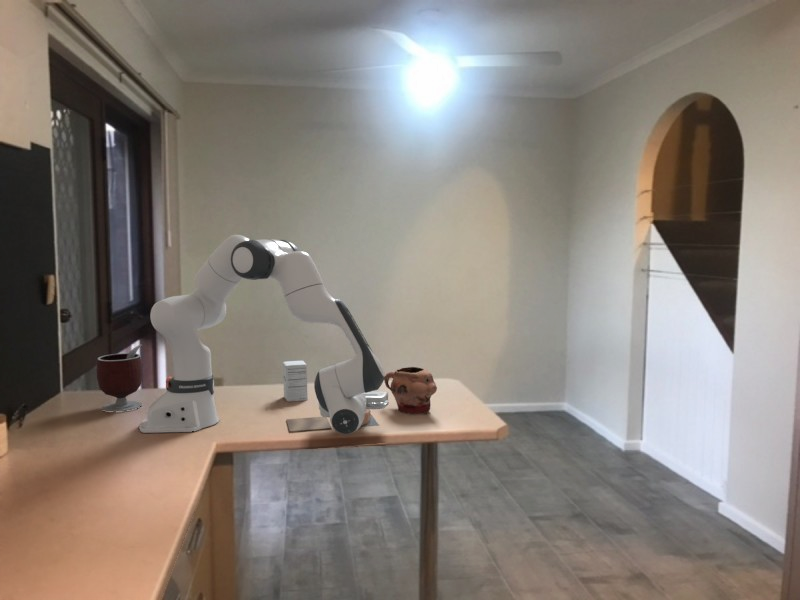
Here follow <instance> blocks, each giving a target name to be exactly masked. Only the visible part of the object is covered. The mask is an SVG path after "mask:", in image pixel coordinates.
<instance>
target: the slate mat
mask: <svg viewBox="0 0 800 600" xmlns="http://www.w3.org/2000/svg"><path fill="white" fill-rule="evenodd" d="M374 426H380V424H379V422H377V420H376V419H375V417H374V416H373V415H372V414H371V421H370V422H369V423H367V424H364V425H361V426H360V428H362V427H363V428H365V427H374Z"/></svg>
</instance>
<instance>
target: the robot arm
mask: <svg viewBox="0 0 800 600" xmlns="http://www.w3.org/2000/svg"><path fill="white" fill-rule="evenodd" d="M243 279H245V280H246V279H247V280H250V281H251V280H252V281H257V280H262V281H263V280H273V279H274V280H276V281H277V282H278V284H279V285H280V286H279V287H281V290H282V291H281V292H282V294H283V296H284V299H285V303H286V305H287V308H288V310H289V312H290V314H291V315H292V317H294V318H295V319H297V320H298V321H301V322H302V323H307V324H328V325H329V324H331V325H334V326H337V327H339V329H341V330H342V332H343V334H344V336H345V337H346V339H347V341H348V342H349V345H350V346H351V348H352V350H353V351H354V354H355V356H354V357H353V358H350V359H347V360H344V361H341V362H339V363H335V364H332V365H329V366H326V367H324V368H321V369H319V370H318V372H317V373H316V376H315V379H314V385H313V386H314V387H313V388H314V393H315V396H316V399H317V402H318V410H319V414H320V417H327V418H328V419H329V420H330V421H329V423H330V425H331V427H332V429H333V430H334V431H335V432H337V433H338V434H340V435H350V434H351V435H352V434H353V433H355V432H356V431H358V430H359V429H360V428H361V427H360V426H361V425H362V423H363V420H364V416H365V412H366V409H370V410H384V409H385V408H386V407H387V406H388V405H389V392H387V391H385V390H384V391H382V390H381V391H380V387H382V385H383V383H384V382H385V381H384V379H385V376H386V374H385V370H384V367H383V365H382V363H381V361H380V359H379V358H378V357H377V356H376V355H375V353H374V351H373V350H372V348H371V347H370V344H369V343H368V342H367V340H366V338H365V336H364V334H363V333H362V330H361V329H360V327H359V325H358V324H357V322H356V321H355V319H354V317H353V315H352V314H351V312H350V310H349V309H348V307H347V305H346V304H345V303H344V302H343V301H342V300H341V299H337V298H334V297H333V296H332V295H331V294H330V293H329V292H328V290H327V289H326V286H325V283H324V281H323V279H322V276H321V274H320V272H319V270H318V267H317V265H316V264H315V262H314V260H313V258H312V257H311V256H310V254H309V253H307V252H306V251H301V250H299V249H298V247H297V246H296V244H294V243H292V242H290V241H287V240H284V239H273V238H264V239H250V238H248V237H246V236H245V235H243V234H231V235H230V236H228V237H227V238H226V239H224V240H223V241H222V242H221V243H220V244H219V245H218V246H217V248H215V249H214V251H212V253H211V254H210V256H209V257H208V258H207V259H206V260H205V261H204V263H203V264H202V266H201V267H200V268H199V269H198V271H197V272H196V273H195V275H194V283H195V286H196V287H195V289H194V290H192V292H190V293H188V294H183V295H181V294H180V295H173V296H170V297H166V298H164V299H161V300H159V301H157V302H155V303H154V304H153V306H152V307H151V309H150V322H151V325H152V327H153V328H154V330H156V331H157V332H158V333H159V334H161V335H162V336H163V337H164V339H165V340H166V342H167V344H168V347H169V350H170V354H171V361H172V362H171V363H172V365H171V366H172V375H173V376H168V377H167V378H166V380H165V385H166V386H165V388H166V391H165V392H163V393H162V394H161V395H160V396H159V397H158V398H156V399H155V400H154V401H153V402H152V403H151V404H150V405H149V407H148V410H147V414H146V415H147V416H146V417H145V418H144V419H143V420H142V421H141V422H140V423H139V429H140V430H139V429H138V430H139V431H140V432H141V433H143V434H144V433H145V434H147V433H149V434H151V433H153V434H155V433H193V432H192V431H194V432H196V431H200V430H201V429H204V428H207V427H211V426H213V425H216V424H218V422H219V421H220V418H219V415H218V413H217V408H216V402H215V398H214V393H215V379H214V375H213V373H212V372H213V371H212V370H213V369H212V353H211V352H212V351H211V350H210V348H209V347H208V346H207V345H205V344H204V343H203V342H202V341H201V338H200V335H199V331H200V330H201V331H202V330H206V329H209V328H212V327H215V326H216V325H219V324H220V323H222V322H224V320H225V318H226V316H227V312H228V311H227V309H228V308H227V304H226V302H227V300H228V298H229V297H230V295H231V294H232V292H234V290H235V289H236V288H237V286H238V285H239V284H240V283H241V281H243ZM378 390H379V391H378Z"/></svg>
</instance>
